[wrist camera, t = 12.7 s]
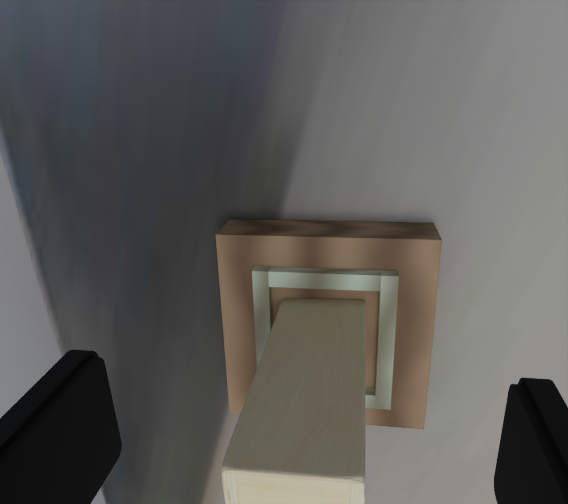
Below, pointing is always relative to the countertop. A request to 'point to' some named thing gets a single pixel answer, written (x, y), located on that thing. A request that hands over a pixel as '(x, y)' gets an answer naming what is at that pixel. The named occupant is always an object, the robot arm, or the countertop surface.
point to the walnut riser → (336, 285)
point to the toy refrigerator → (304, 410)
